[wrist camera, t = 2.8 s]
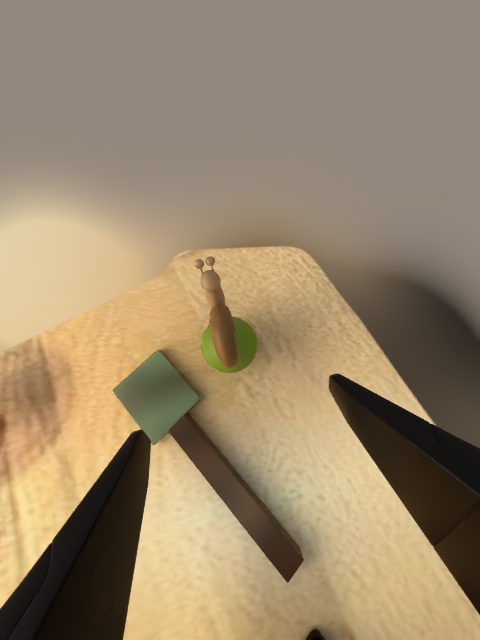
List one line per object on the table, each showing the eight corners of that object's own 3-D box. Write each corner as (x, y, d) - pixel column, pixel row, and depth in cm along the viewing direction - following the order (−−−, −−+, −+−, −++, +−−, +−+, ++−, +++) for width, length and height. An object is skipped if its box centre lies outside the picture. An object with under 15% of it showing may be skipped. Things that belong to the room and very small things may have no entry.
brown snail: (245, 311, 23) (248, 244, 11) (261, 365, 21) (285, 352, 9) (200, 323, 22) (155, 266, 11) (212, 379, 20) (174, 383, 9)
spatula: (314, 526, 17) (319, 538, 16) (268, 591, 16) (270, 608, 15) (160, 349, 21) (155, 348, 20) (116, 389, 20) (108, 390, 19)
